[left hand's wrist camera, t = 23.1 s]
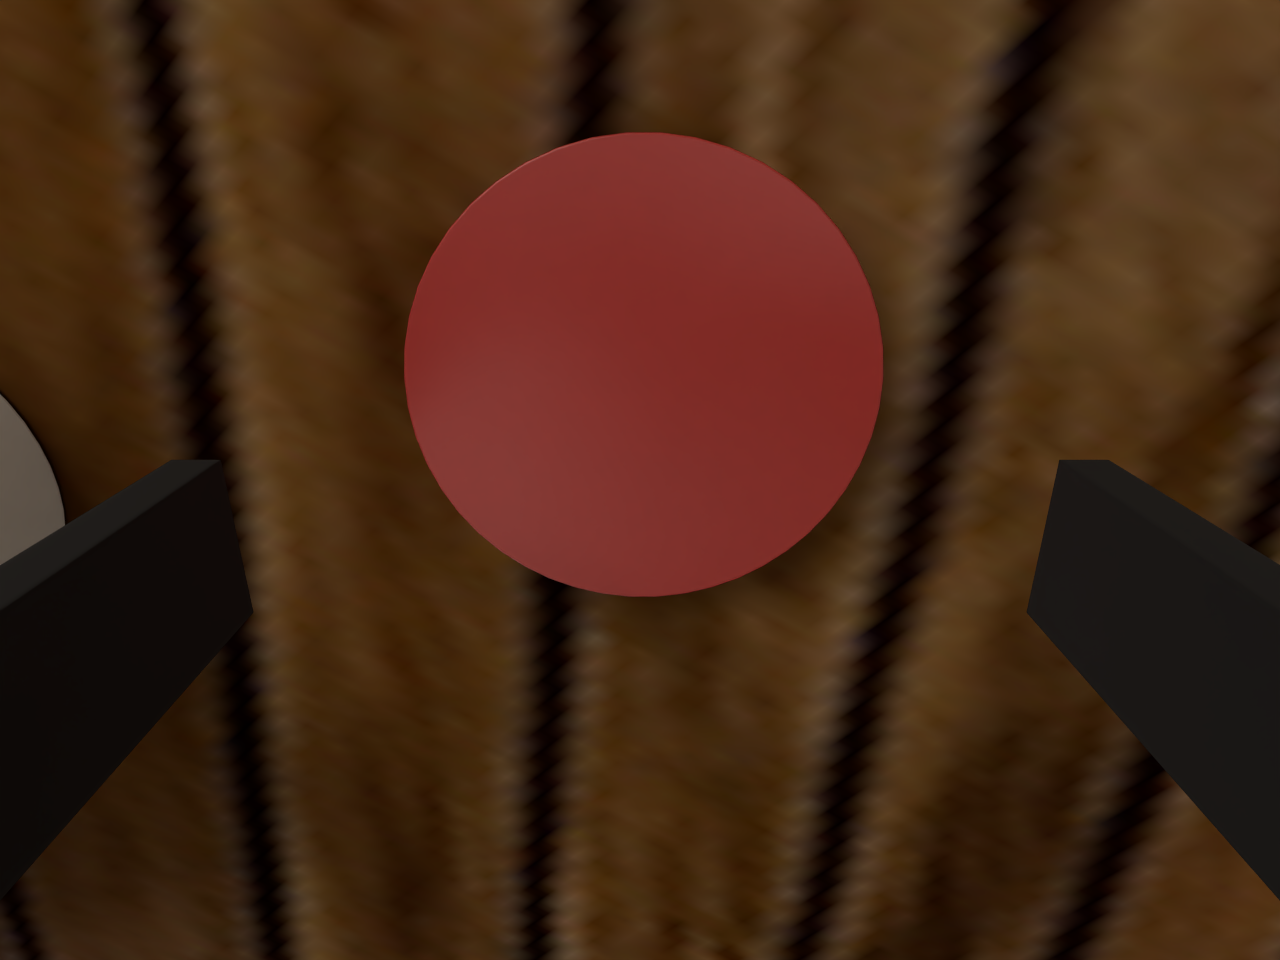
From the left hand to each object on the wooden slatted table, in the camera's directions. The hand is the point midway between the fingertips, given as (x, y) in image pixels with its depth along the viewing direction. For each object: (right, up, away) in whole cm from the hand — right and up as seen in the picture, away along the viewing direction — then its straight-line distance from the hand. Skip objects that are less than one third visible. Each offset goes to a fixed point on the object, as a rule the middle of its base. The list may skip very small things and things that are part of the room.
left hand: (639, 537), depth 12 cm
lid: (0, +3, +4) cm, 5 cm away
